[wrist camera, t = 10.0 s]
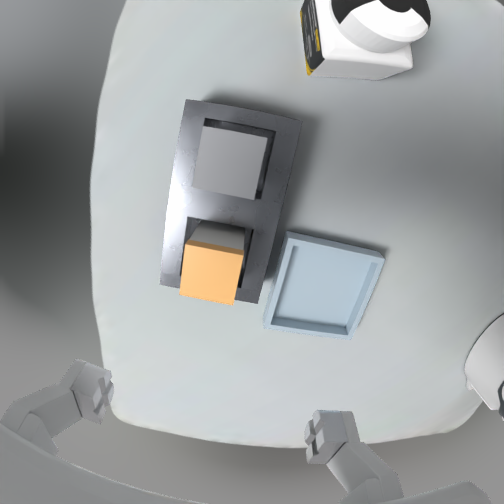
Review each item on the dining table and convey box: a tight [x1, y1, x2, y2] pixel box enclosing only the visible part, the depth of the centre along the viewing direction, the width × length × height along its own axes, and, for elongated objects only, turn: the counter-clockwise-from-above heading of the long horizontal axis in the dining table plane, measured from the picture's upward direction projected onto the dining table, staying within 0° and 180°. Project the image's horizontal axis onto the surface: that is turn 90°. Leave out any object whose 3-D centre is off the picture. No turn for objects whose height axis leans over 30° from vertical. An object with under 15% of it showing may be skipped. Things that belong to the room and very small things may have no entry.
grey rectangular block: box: [192, 126, 268, 200], centre depth 21 cm, size 4×4×7 cm
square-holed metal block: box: [160, 99, 302, 304], centre depth 25 cm, size 16×9×4 cm, turn 168°
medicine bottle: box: [300, 0, 431, 81], centre depth 16 cm, size 7×7×12 cm
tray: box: [263, 231, 385, 340], centre depth 30 cm, size 10×10×2 cm
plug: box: [179, 219, 245, 305], centre depth 24 cm, size 4×4×7 cm
